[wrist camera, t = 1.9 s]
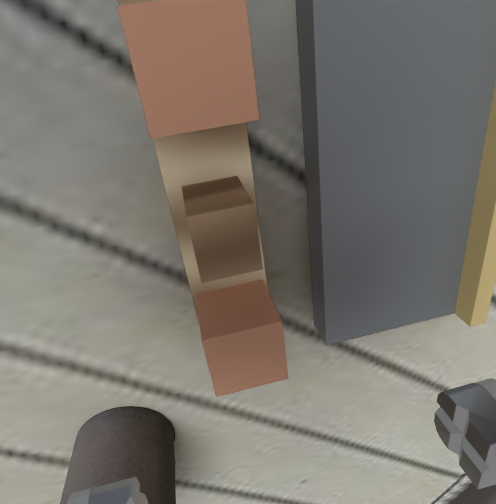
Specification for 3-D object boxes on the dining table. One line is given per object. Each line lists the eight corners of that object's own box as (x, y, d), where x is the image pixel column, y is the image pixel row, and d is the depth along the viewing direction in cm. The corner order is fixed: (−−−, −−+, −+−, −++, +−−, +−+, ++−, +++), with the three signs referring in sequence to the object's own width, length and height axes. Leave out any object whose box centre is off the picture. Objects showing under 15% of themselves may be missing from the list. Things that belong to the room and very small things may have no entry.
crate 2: (195, 294, 27) (201, 340, 23) (262, 279, 27) (281, 321, 23) (208, 346, 29) (216, 396, 25) (269, 331, 30) (288, 378, 26)
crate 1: (127, 16, 19) (117, 6, 14) (225, 3, 19) (244, -12, 15) (152, 121, 21) (150, 138, 17) (239, 106, 22) (259, 119, 17)
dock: (290, -85, 21) (323, -120, 17) (511, -110, 23) (593, -148, 19) (314, 324, 36) (335, 361, 32) (448, 291, 37) (485, 322, 33)
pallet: (123, 3, 22) (101, -25, 14) (217, -10, 22) (247, -44, 14) (202, 324, 33) (215, 407, 26) (262, 310, 34) (292, 387, 26)
